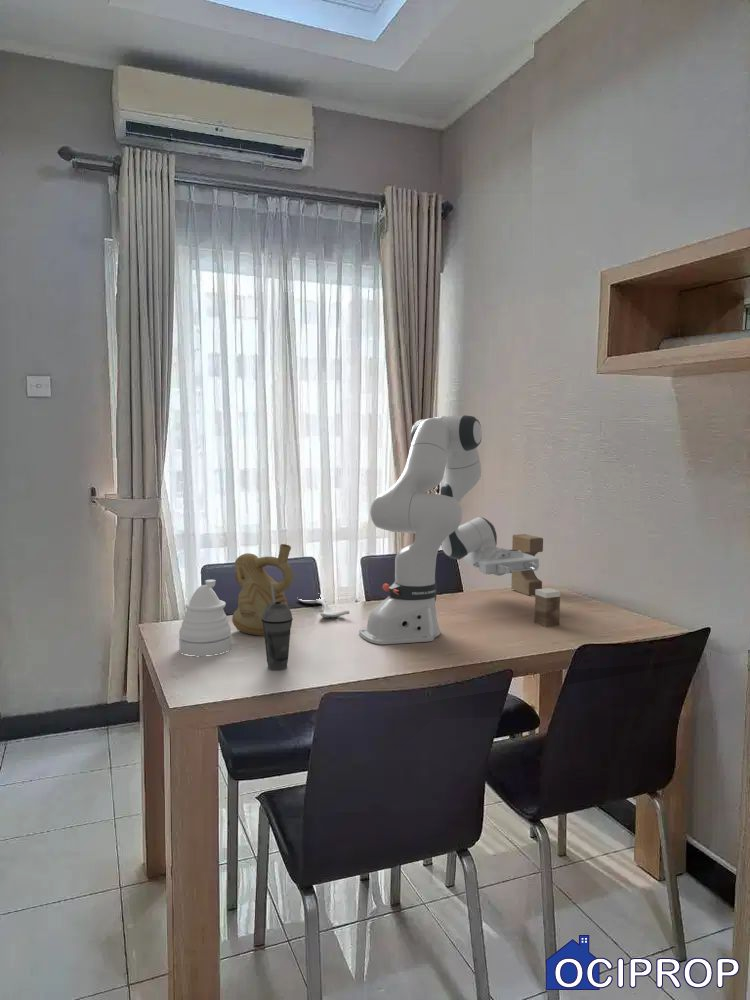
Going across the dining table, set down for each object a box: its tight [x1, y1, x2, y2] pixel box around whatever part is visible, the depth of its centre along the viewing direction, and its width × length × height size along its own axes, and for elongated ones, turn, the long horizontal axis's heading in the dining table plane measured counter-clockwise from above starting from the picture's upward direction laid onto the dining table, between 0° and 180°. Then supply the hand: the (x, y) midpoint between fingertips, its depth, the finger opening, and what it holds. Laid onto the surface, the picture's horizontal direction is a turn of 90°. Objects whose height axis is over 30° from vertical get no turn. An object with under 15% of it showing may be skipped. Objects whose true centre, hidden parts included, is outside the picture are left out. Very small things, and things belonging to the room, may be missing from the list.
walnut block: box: [534, 587, 561, 628], centre depth 201 cm, size 5×5×10 cm
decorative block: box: [511, 533, 544, 597], centre depth 242 cm, size 11×6×20 cm, turn 23°
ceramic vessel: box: [231, 543, 294, 636], centre depth 192 cm, size 17×20×25 cm
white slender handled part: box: [298, 593, 350, 619], centre depth 217 cm, size 9×32×4 cm, turn 21°
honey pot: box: [178, 579, 232, 656], centre depth 175 cm, size 13×13×18 cm
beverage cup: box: [262, 584, 294, 671], centre depth 161 cm, size 7×7×20 cm
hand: (523, 569), depth 211 cm, fingers open, 8 cm apart
